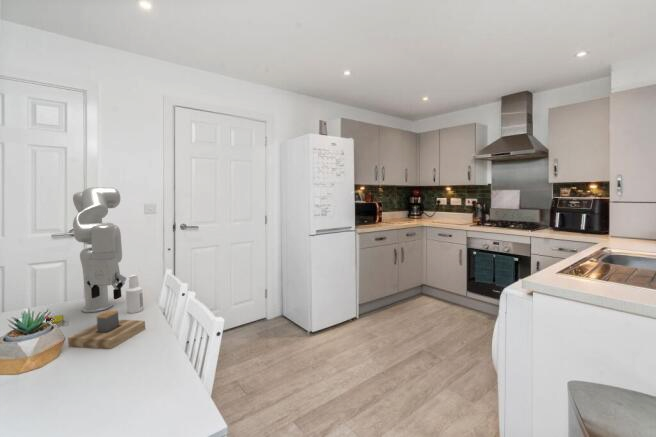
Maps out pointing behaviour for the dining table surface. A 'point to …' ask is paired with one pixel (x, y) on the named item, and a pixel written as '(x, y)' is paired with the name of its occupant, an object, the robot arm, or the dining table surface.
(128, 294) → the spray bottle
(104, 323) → the key peg
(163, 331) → the dining table surface
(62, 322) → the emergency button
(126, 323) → the socket block
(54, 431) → the dining table surface
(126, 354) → the dining table surface
